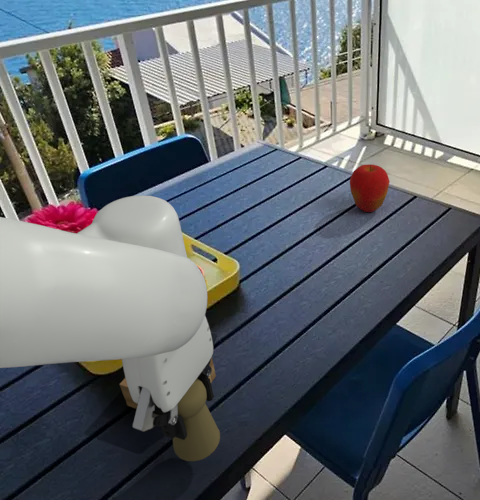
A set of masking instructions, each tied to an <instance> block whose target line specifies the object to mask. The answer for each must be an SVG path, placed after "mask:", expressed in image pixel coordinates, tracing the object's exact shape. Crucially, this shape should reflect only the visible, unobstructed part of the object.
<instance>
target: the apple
mask: <svg viewBox="0 0 480 500" xmlns="http://www.w3.org/2000/svg"><path fill="white" fill-rule="evenodd" d="M390 182H391V181H390V178H389V174H388V173H387V171H386V170H385V169H384V168H383V167H382V166H379V165H377V164H361V165H359V166H358V167H357V168H356V169H354V170H353V172H352V174H351V176H350V178H349V187H350V193H351V196H352V198H353V201H354V203H355V205H356V207H357V208H358V209H360V210H361V211H362V212H365V213H374V212H375V211H376V210H378V209H380V208H381V207H382V206H383V204H384V202H385V199H386V198H387V195H388V192H389V187H390Z"/></svg>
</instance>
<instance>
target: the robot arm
mask: <svg viewBox="0 0 480 500" xmlns="http://www.w3.org/2000/svg"><path fill="white" fill-rule="evenodd" d="M207 307H208V288H207V283H206V279H205V277H204V275H203V273H202V271H201V270H200V267H198V265H197V264H196V263H195V262H194V261H192V259H190V258H189V257H188V256H187V250H186V246H185V241H184V235H183V232H182V227H181V223H180V219H179V215H178V213H177V211H176V210H175V208H174V206H172V204H171V203H169V202H168V201H167V200H165V199H163V198H161V197H158V196H157V197H156V196H152V195H143V194H142V195H131V196H126V197H122V198H119V199H116V200H113V201H112V202H109V203H107V204H106V205H105V206H103V207H102V208H101V209H100V210H98V211H97V212H96V214H95V216H94V218H93V220H92V223H91V224H89V225H88V226H86V227H84V228H83V229H82V230H80V231H78V232H77V233H76V232H70V231H68V230H67V231H66V230H62V229H59V228H54V227H50V226H45V225H41V224H37V223H32V222H28V221H22V220H18V219H13V218H7V217H2V216H0V369H7V368H23V367H32V366H45V365H55V364H67V363H78V362H79V363H81V362H99V361H101V362H102V361H114V360H117V361H118V360H121V363H122V367H123V368H122V369H123V373H124V378H126V381H127V385H128V389H129V392H130V395H131V397H132V399H133V401H134V402H135V403H137V404H138V406H137V409H136V410H135V414H134V419H133V422H132V428H133V429H134V430H137V431H140V432H143V433H144V432H147V431H149V430H151V429H154V427H156V428H159V427H160V430H161V433H162V435H163V436H165V437H167V438H169V439H172V440H173V438H174V437H177V438H179V439H182V440H185V438H186V437H187V431H186V427H185V424H184V421H183V417H182V416H180V415H178V402H179V401H180V400H181V398H182V397H183V396H184V395H185V393H186V392H187V391H188V389H189V388H190V387H191V385H192V384H193V383H194V381H195V380H196V379H199V380H200V381H201V382H202V383H203V385H204V386H205V388H206V394H207V398H206V402H212V401H213V399H214V398H215V395H214V391H213V387H212V383H211V381H210V378H208V377H209V376H210V375H211V372H212V368H211V367H210V366H209V365H210V361H211V358H212V359H213V355H214V346H215V344H216V340H217V336H218V334H217V333H216V332H212V331H211V329H210V325H209V322H208V318H207V317H206V313H207Z"/></svg>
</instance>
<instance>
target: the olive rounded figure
mask: <svg viewBox="0 0 480 500" xmlns="http://www.w3.org/2000/svg"><path fill="white" fill-rule="evenodd" d="M206 398H207V394H206V388H205V386H204V385H203V383H202V382H201V381H200V380H199V379H196V380H195V381H194V383H193V384H192V385H191V387H190V388H189V389H188V391H187V392H186V393H185V395H184V396H183V397H182V398H181V400H180V401H179V402H178V415H180V416H182V417H183V421H184V424H185V427H186V431H187V437H186V438H185V440H182V439H179V438H177V437H174V438H173V439H172V445H173V446H172V447H173V451H174V453H175V455H176V456H177V457H178V458H179V459H181V460H183V461H186V462H197V461H202V460H203V459H206V458H207V457H209V456H211V455H212V453H214V452H215V451H216V449H217V447H218V446H219V443H220V440H221V432H220V430H219V428H218V425H217V424H216V421H215V419H214V417H213V416H212V413H211V412H210V410H209V407H208V405H207V404H206V402H207V400H206Z"/></svg>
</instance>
